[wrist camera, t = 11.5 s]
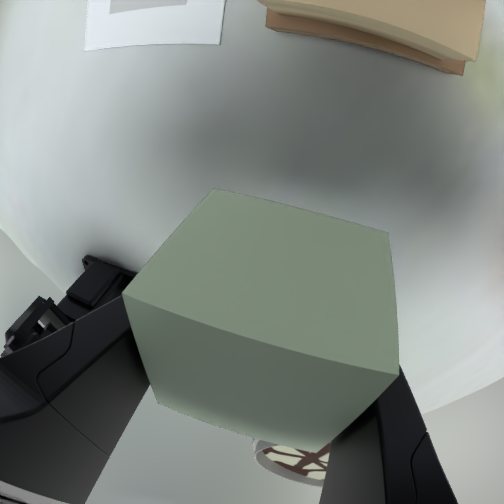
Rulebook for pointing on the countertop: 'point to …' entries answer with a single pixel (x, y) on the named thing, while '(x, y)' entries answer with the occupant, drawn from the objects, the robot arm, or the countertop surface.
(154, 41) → the page
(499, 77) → the countertop surface
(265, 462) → the food container
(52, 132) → the countertop surface
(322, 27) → the walnut base
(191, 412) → the sage brick
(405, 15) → the oak brick
